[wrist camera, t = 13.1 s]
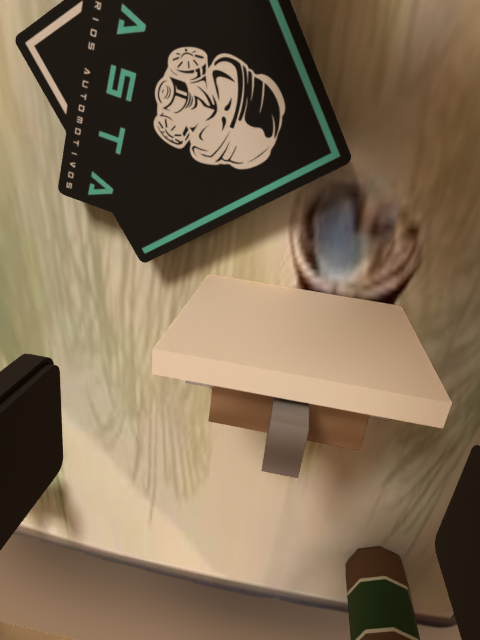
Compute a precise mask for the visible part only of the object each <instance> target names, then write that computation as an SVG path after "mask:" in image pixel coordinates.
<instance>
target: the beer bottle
mask: <svg viewBox="0 0 480 640" xmlns="http://www.w3.org/2000/svg"><path fill="white" fill-rule="evenodd" d="M346 584H347V597H348V610H349V622H350V636H351V640H420V637H419V633H418V628H417V623H416V619H415V614H414V609H413V605H412V600H411V595H410V591H409V586H408V582H407V579H406V575H405V572H404V569H403V565H402V562H401V559H400V557H399V556H398V555H397V554H395V553H393V552H390V551H388V550H386V549H384V548H382V547H380V546H377V547H369V548H362V549H357V551H356V552H355V553H354V554H353V555H352V556H351V558H350V559H349V560H348V561H347V563H346Z"/></svg>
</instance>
